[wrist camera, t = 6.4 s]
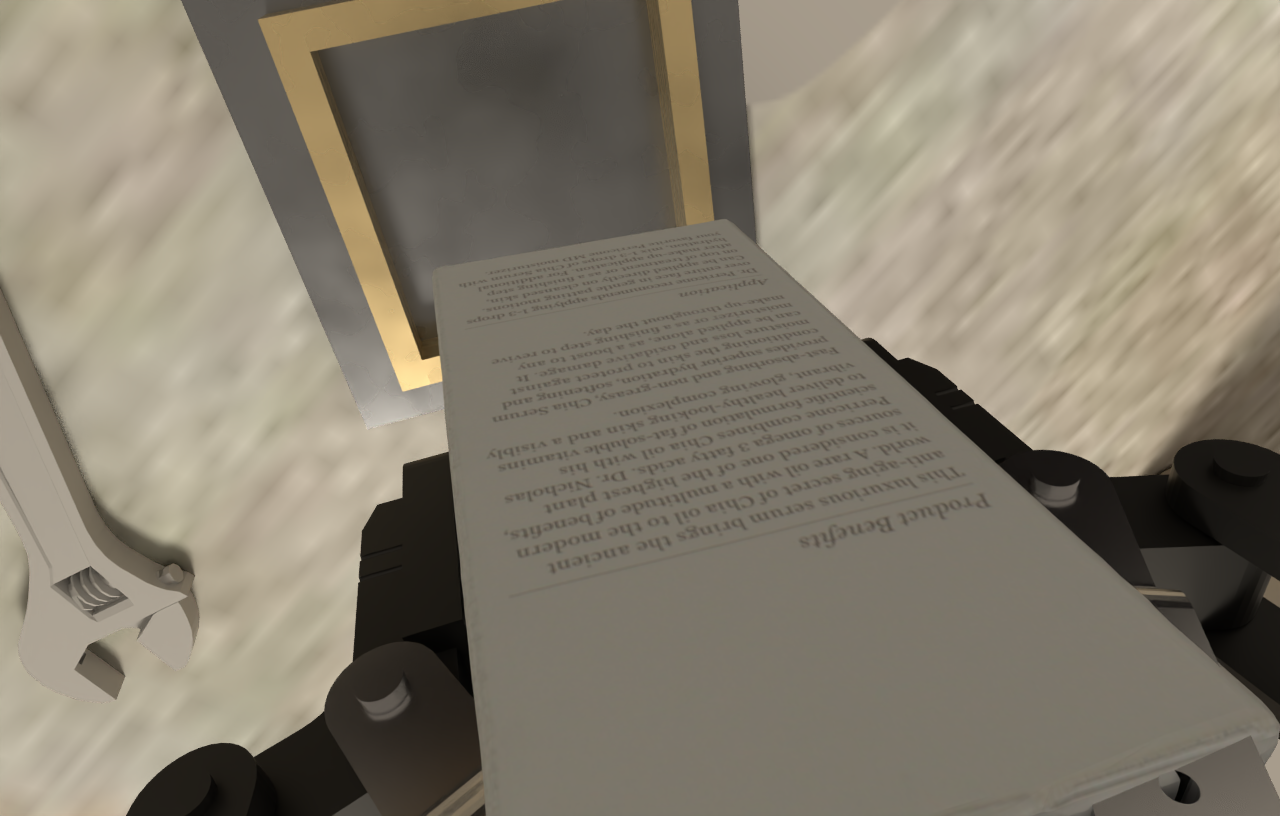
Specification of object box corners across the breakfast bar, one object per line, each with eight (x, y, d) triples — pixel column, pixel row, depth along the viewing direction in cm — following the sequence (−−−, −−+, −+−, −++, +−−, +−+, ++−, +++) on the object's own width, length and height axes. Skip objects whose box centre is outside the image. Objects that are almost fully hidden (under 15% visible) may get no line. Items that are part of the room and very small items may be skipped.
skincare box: (472, 447, 17) (565, 1194, 7) (428, 262, 14) (474, 987, 5) (739, 392, 18) (1153, 976, 8) (737, 210, 15) (1320, 716, 6)
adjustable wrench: (-215, 38, 21) (-262, 46, 20) (61, 53, 23) (37, 62, 21) (55, 676, 34) (39, 710, 32) (220, 656, 35) (212, 688, 34)
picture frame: (714, -156, 23) (744, -163, 21) (753, 314, 32) (776, 340, 30) (167, -55, 21) (142, -53, 19) (368, 415, 30) (365, 451, 28)
